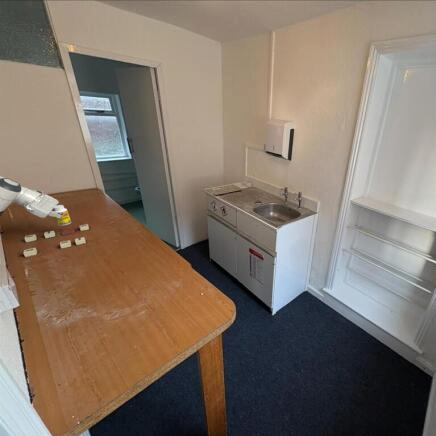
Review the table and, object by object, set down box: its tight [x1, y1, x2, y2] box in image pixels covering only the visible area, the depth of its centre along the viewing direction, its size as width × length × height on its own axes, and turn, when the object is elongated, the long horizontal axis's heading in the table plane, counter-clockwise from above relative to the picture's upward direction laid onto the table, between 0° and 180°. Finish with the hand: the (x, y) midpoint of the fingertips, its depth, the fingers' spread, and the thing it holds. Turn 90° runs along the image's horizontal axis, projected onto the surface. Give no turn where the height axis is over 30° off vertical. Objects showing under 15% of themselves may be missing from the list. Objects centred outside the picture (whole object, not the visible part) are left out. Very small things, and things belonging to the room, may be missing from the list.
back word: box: [24, 223, 90, 243], centre depth 124 cm, size 25×5×2 cm, turn 132°
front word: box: [23, 236, 87, 258], centre depth 112 cm, size 21×4×2 cm, turn 132°
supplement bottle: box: [52, 204, 72, 227], centre depth 123 cm, size 6×6×10 cm
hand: (62, 214), depth 123 cm, fingers closed on supplement bottle, 5 cm apart
